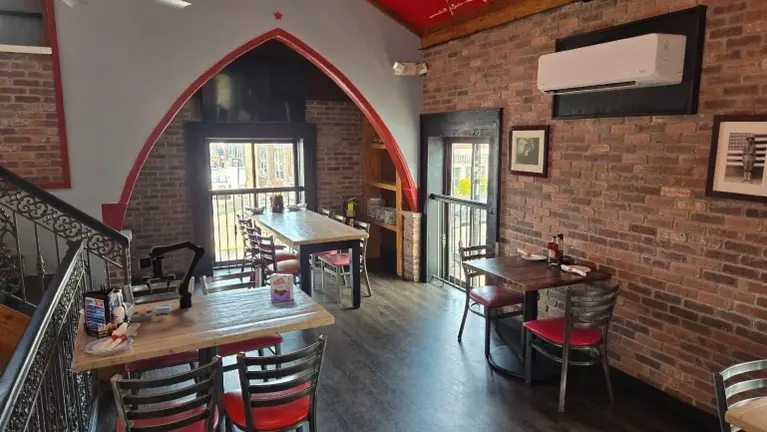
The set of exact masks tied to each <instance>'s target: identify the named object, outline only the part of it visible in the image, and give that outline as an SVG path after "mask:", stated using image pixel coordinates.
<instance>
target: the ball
mask: <svg viewBox="0 0 767 432" xmlns="http://www.w3.org/2000/svg"><path fill="white" fill-rule="evenodd" d="M138 314H139V315H140V316H144V315H145V314H146V309H145V308H144V307H143V308H139V309H138Z"/></svg>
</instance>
